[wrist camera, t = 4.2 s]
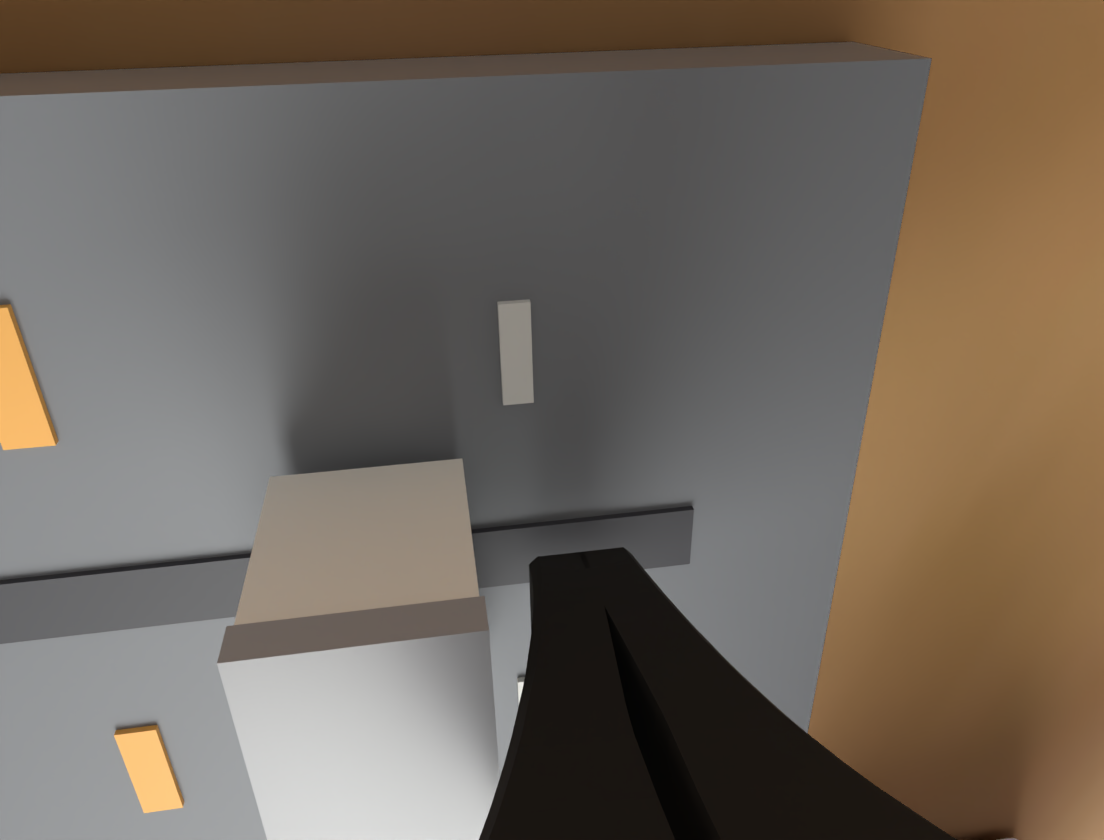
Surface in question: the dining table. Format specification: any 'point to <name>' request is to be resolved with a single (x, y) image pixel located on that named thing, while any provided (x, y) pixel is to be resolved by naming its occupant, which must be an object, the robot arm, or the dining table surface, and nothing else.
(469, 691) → the fader tab
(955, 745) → the dining table surface
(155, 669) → the console
